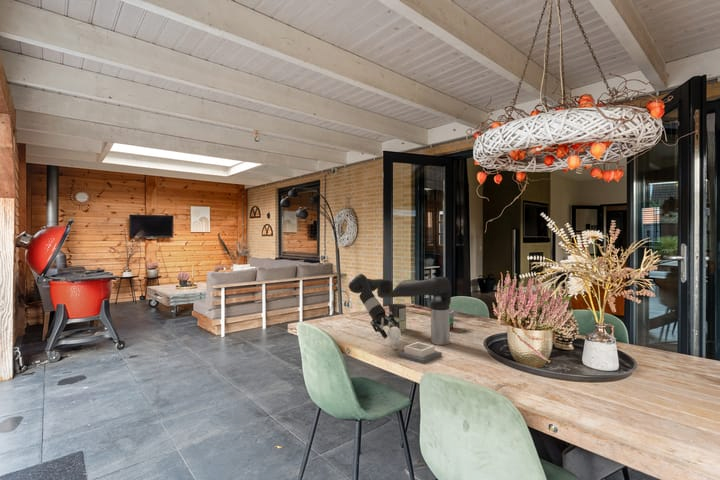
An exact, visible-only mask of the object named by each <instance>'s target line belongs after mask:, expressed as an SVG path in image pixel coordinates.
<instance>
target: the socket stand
mask: <svg viewBox="0 0 720 480" xmlns="http://www.w3.org/2000/svg"><path fill="white" fill-rule="evenodd" d="M435 346H436V345H432V344H428V343H424V342H419V341H416V342H413V343H410V344H408V345H405V346H404V350H402V351H400V352H397V357H399V358H401V359H402V358H403V359H405V360H408V361H413V362H416V363H418V364H419V363H420V364H425V363H428V362H430V361H434V359H438V358H440V357H442V355H443V354H442V352H441V351H438V350H437V351H436V348H435Z"/></svg>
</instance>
